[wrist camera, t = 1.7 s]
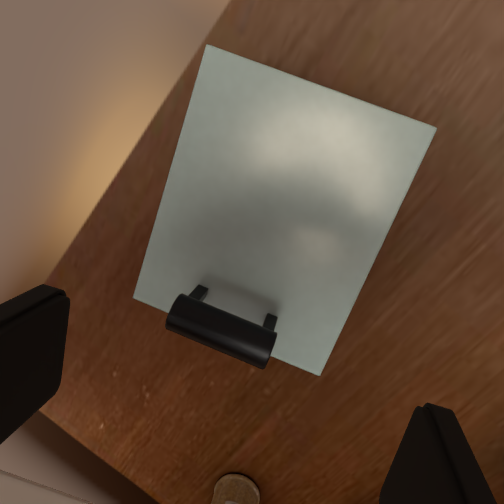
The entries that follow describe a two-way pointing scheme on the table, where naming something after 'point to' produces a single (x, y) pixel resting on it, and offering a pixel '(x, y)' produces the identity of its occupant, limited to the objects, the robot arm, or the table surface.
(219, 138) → the lid
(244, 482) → the sprinkles bottle
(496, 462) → the table surface
